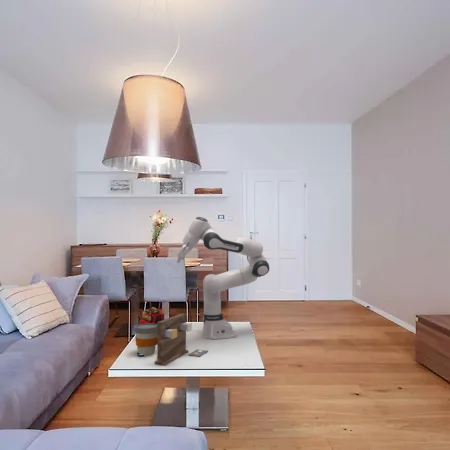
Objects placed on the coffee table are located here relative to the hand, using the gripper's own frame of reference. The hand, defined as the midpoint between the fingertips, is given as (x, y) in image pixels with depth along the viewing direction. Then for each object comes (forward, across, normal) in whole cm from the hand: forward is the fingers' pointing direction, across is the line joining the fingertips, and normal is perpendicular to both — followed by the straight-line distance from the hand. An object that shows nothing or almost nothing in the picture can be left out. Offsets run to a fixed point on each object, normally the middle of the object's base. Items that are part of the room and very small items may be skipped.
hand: (180, 260), depth 221 cm
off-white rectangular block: (+23, -28, -23) cm, 43 cm away
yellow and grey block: (+23, -42, -19) cm, 52 cm away
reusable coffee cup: (+45, -32, -12) cm, 56 cm away
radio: (+51, -10, -9) cm, 53 cm away
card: (+31, -28, -36) cm, 55 cm away
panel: (+36, -37, -25) cm, 57 cm away
